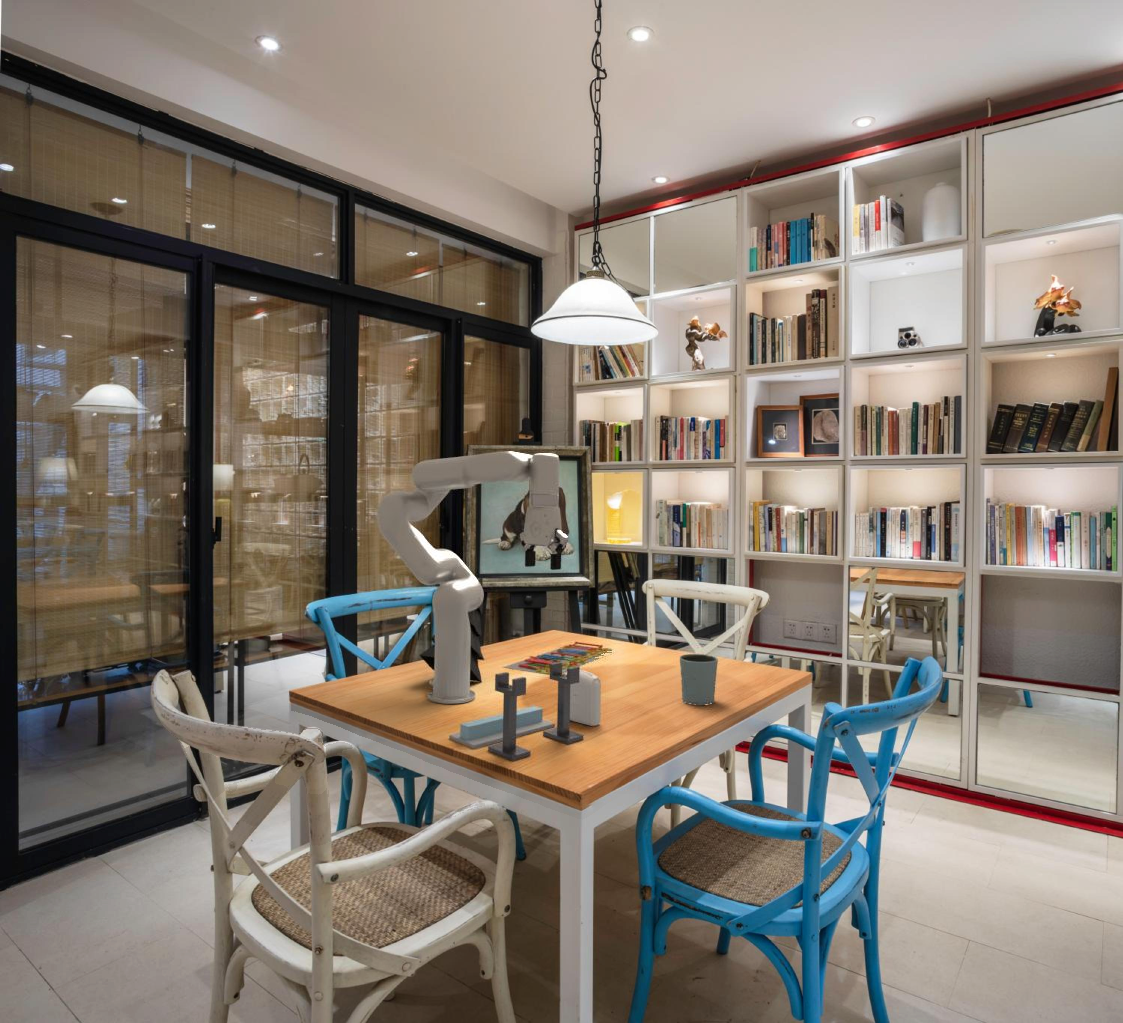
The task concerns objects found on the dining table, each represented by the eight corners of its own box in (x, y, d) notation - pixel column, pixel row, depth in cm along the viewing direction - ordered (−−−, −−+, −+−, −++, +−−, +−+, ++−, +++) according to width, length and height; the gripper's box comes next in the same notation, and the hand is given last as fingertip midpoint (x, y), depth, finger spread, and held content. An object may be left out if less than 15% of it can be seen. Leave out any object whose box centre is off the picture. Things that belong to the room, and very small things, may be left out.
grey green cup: (721, 700, 203) (722, 656, 203) (709, 709, 194) (710, 663, 194) (686, 694, 208) (687, 652, 208) (673, 702, 199) (674, 658, 199)
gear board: (555, 669, 227) (503, 661, 236) (554, 677, 227) (502, 669, 236) (618, 645, 266) (571, 639, 275) (618, 652, 266) (571, 646, 275)
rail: (460, 737, 165) (460, 723, 165) (534, 718, 180) (534, 706, 180) (468, 740, 163) (468, 727, 162) (542, 721, 178) (542, 708, 178)
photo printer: (559, 718, 183) (560, 668, 183) (571, 715, 186) (572, 666, 186) (591, 728, 176) (592, 676, 176) (603, 724, 179) (604, 673, 179)
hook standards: (488, 751, 158) (489, 674, 158) (558, 731, 173) (560, 660, 173) (512, 761, 153) (513, 681, 152) (583, 739, 167) (585, 666, 167)
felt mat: (449, 738, 166) (449, 735, 166) (529, 718, 183) (529, 714, 183) (473, 749, 160) (473, 745, 159) (554, 726, 176) (554, 723, 176)
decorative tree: (478, 695, 215) (511, 590, 233) (458, 674, 204) (494, 565, 222) (434, 689, 220) (470, 586, 239) (412, 668, 209) (451, 563, 227)
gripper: (511, 500, 194) (509, 566, 195) (556, 502, 182) (555, 571, 182) (532, 501, 200) (531, 564, 200) (578, 502, 187) (576, 570, 188)
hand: (542, 567), depth 191 cm, fingers open, 9 cm apart
